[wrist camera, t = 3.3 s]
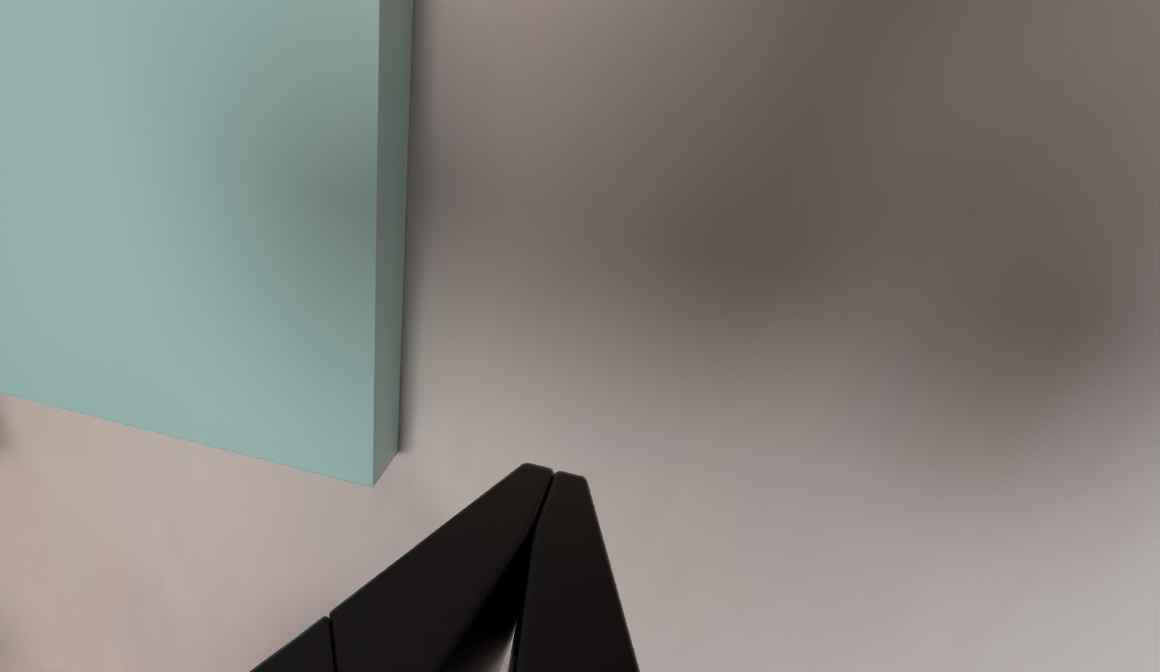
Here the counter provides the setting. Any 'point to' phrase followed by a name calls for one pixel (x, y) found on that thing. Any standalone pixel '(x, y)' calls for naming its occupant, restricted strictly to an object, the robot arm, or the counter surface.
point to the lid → (209, 220)
